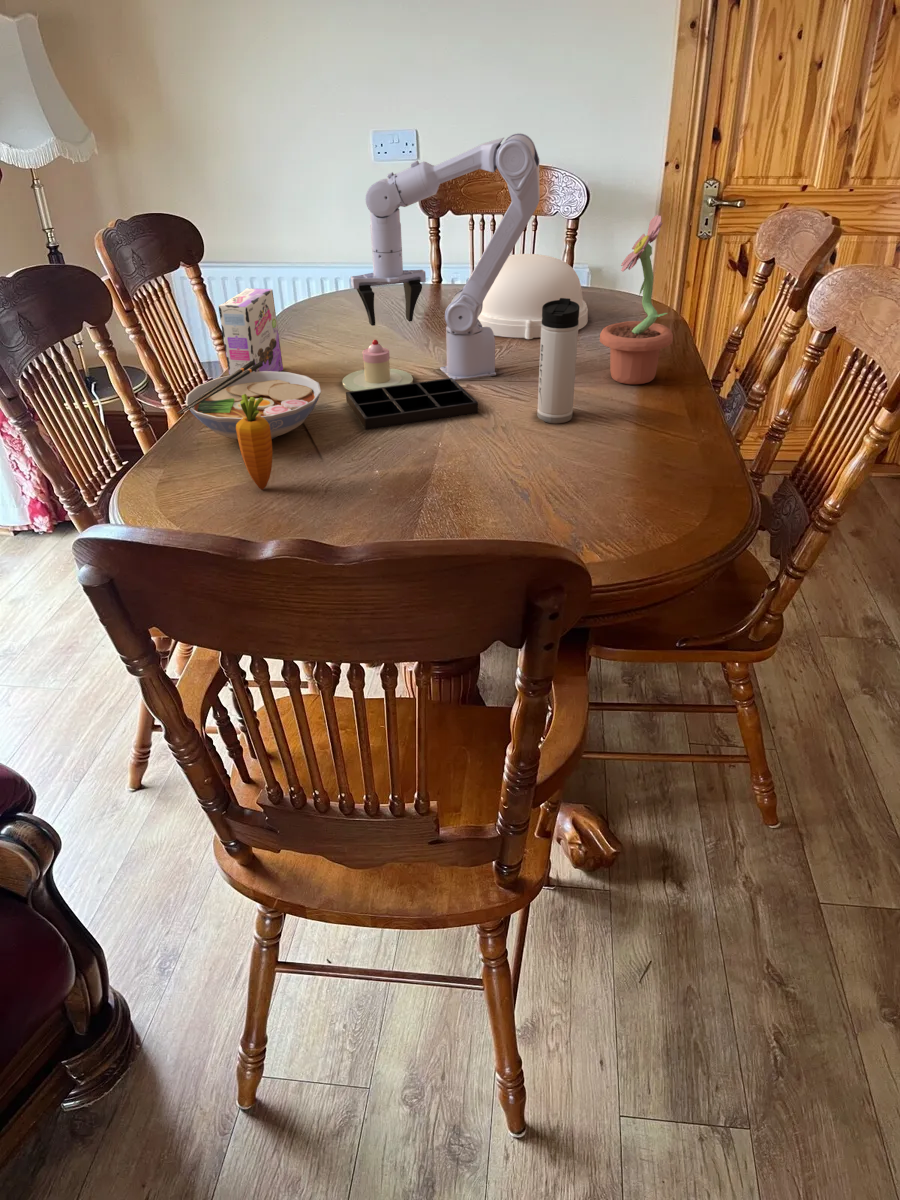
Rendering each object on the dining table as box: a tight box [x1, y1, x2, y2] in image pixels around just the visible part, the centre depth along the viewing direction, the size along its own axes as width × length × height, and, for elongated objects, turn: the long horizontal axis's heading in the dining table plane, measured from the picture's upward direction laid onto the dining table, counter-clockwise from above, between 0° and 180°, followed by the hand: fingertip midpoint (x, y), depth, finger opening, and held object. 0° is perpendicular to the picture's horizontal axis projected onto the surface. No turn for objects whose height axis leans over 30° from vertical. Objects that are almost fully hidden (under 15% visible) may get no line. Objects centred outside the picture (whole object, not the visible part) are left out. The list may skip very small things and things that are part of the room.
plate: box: [341, 367, 414, 392], centre depth 167 cm, size 14×14×1 cm
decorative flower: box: [599, 214, 674, 385], centre depth 159 cm, size 15×14×30 cm
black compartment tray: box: [345, 377, 479, 431], centre depth 154 cm, size 14×21×2 cm
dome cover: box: [478, 253, 589, 340], centre depth 198 cm, size 32×30×14 cm
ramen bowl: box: [176, 361, 322, 440], centre depth 144 cm, size 25×23×8 cm
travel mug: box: [536, 298, 579, 425], centre depth 145 cm, size 6×7×20 cm
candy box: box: [217, 288, 284, 376], centre depth 165 cm, size 14×6×16 cm, turn 168°
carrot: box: [236, 394, 274, 491], centre depth 124 cm, size 5×5×15 cm
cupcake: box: [362, 339, 391, 383], centre depth 164 cm, size 5×5×8 cm
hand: (390, 322), depth 167 cm, fingers open, 7 cm apart
